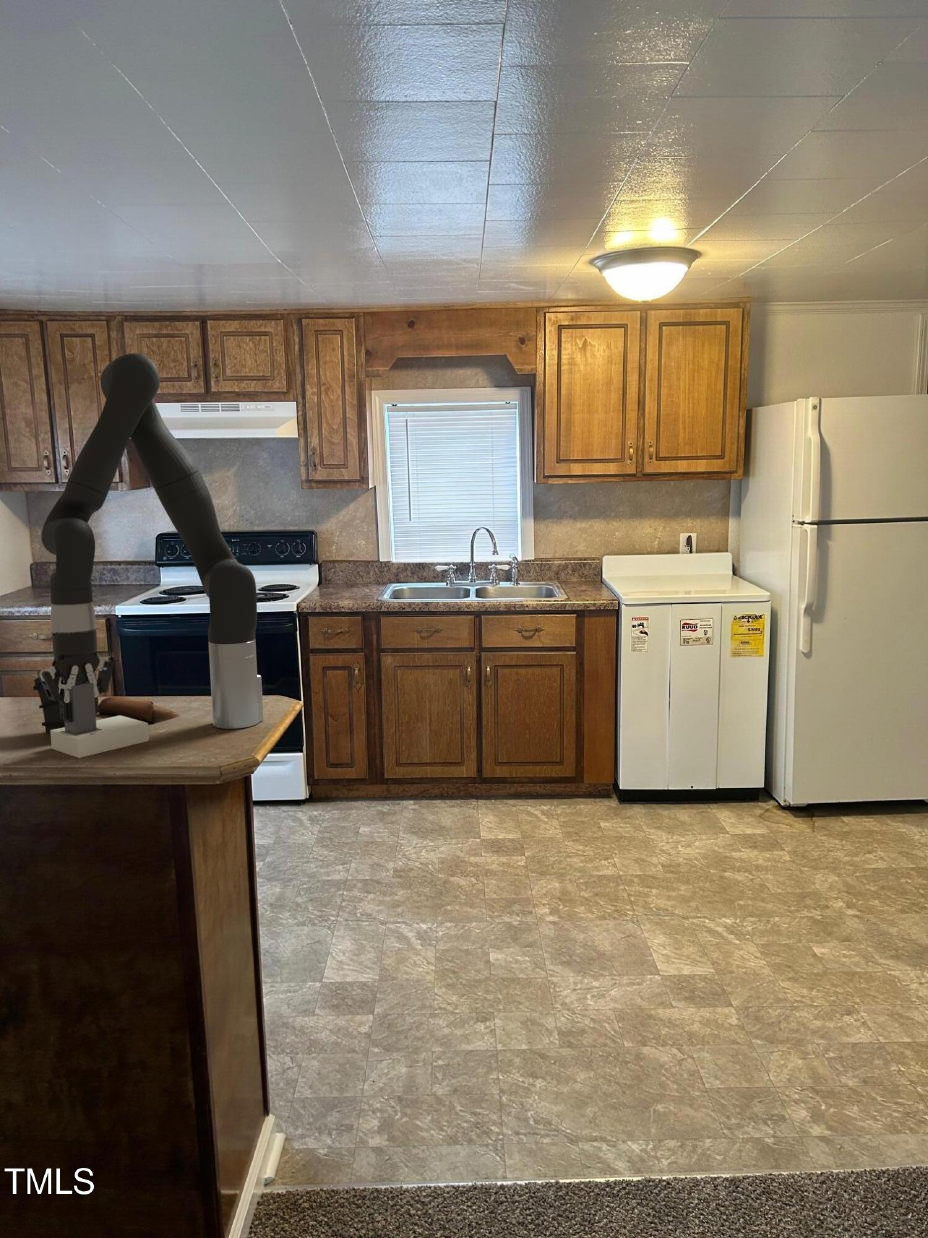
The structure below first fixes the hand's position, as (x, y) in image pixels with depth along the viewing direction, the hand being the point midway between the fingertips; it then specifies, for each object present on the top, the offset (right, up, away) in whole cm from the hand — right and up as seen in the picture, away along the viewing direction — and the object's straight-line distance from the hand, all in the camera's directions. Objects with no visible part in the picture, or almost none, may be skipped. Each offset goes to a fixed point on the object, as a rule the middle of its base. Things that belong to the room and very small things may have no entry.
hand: (80, 718), depth 167 cm
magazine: (-8, -5, +12) cm, 15 cm away
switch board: (+2, -5, +3) cm, 7 cm away
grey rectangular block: (0, -2, 0) cm, 2 cm away
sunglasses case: (+2, -3, +26) cm, 26 cm away
